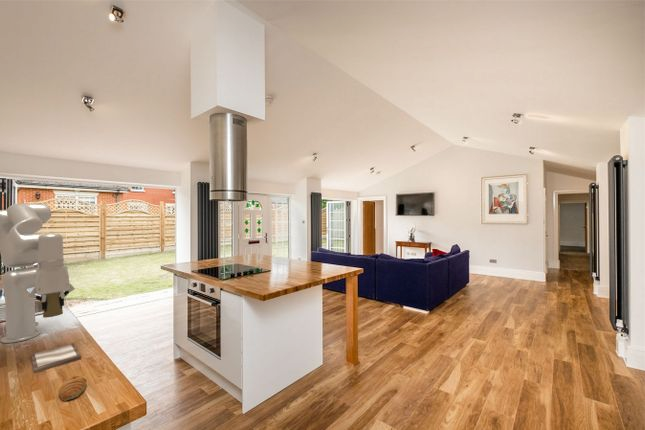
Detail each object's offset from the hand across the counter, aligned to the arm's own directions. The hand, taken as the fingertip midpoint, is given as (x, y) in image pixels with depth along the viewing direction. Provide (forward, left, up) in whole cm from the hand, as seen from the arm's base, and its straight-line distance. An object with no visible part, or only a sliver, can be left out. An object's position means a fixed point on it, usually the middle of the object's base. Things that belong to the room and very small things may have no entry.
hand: (53, 309), depth 120 cm
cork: (0, 0, -2) cm, 2 cm away
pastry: (+35, +19, -18) cm, 44 cm away
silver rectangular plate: (+5, +2, -18) cm, 19 cm away
